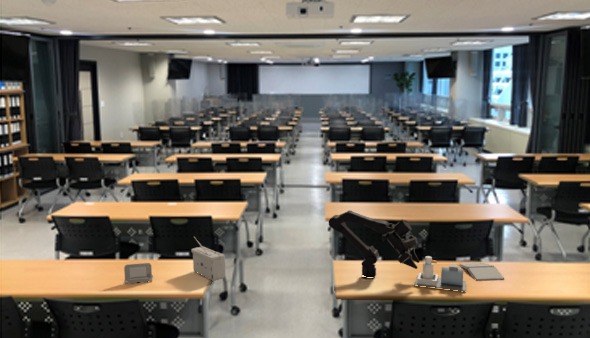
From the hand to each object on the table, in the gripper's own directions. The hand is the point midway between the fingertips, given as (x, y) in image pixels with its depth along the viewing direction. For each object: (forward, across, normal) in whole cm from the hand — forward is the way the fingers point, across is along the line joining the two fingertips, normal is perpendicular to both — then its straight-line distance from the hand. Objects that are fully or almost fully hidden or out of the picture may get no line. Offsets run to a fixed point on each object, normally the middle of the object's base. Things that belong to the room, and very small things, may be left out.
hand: (417, 265), depth 254 cm
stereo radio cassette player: (-67, -25, +82) cm, 108 cm away
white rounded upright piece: (+9, 0, +2) cm, 9 cm away
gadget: (+28, +25, -15) cm, 40 cm away
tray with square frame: (+14, 0, -2) cm, 14 cm away
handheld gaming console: (-88, -42, +104) cm, 142 cm away
